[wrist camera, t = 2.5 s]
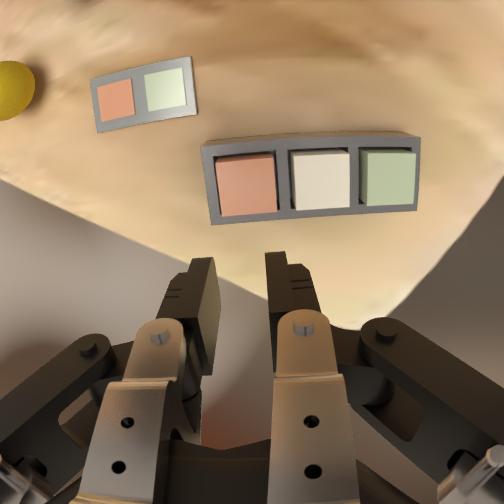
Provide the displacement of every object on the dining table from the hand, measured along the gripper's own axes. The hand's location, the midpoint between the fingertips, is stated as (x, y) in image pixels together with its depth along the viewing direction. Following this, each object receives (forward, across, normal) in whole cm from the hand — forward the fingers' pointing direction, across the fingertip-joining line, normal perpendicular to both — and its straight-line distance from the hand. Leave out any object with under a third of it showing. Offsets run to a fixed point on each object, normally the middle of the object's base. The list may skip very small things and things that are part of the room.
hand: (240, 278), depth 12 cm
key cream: (+15, -5, 0) cm, 16 cm away
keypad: (+17, -5, 0) cm, 18 cm away
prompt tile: (+17, +8, -8) cm, 20 cm away
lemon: (+17, +20, -12) cm, 29 cm away
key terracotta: (+15, 0, 0) cm, 15 cm away
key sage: (+15, -11, 0) cm, 18 cm away
